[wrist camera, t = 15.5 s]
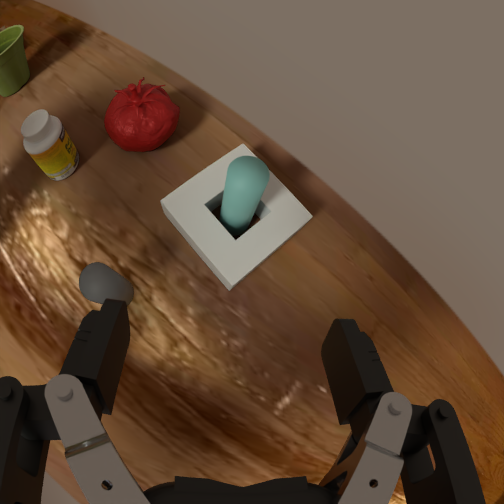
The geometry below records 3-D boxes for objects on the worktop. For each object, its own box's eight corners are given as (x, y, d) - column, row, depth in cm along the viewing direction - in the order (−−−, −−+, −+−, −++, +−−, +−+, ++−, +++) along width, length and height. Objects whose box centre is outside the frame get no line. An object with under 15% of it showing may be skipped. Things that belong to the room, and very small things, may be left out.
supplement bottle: (84, 169, 35) (57, 125, 25) (51, 189, 34) (17, 151, 24) (75, 141, 36) (51, 96, 26) (43, 160, 34) (13, 120, 25)
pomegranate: (157, 172, 37) (147, 129, 28) (98, 148, 36) (78, 107, 27) (193, 117, 39) (193, 71, 31) (135, 99, 39) (126, 54, 30)
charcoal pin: (116, 314, 32) (93, 309, 24) (99, 289, 32) (72, 278, 24) (139, 294, 33) (121, 285, 25) (121, 270, 33) (100, 254, 25)
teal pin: (232, 241, 36) (246, 200, 24) (213, 219, 36) (218, 170, 25) (255, 223, 37) (278, 177, 25) (235, 201, 37) (250, 148, 26)
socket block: (229, 290, 34) (232, 286, 31) (164, 214, 35) (160, 200, 32) (302, 227, 38) (312, 216, 34) (239, 160, 39) (243, 143, 35)
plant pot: (46, 78, 38) (27, 36, 27) (-5, 116, 35) (-31, 79, 24) (35, 55, 39) (19, 17, 28) (-10, 88, 36) (-31, 54, 25)
